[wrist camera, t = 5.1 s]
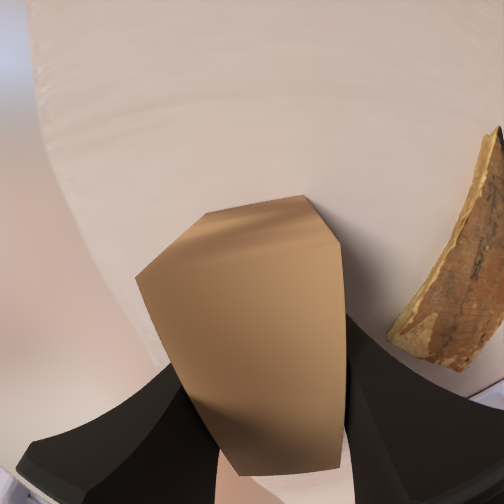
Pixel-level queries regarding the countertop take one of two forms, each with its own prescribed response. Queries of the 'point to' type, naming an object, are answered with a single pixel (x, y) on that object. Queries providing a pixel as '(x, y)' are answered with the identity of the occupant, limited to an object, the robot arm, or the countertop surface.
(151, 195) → the countertop surface
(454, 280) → the shard
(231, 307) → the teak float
